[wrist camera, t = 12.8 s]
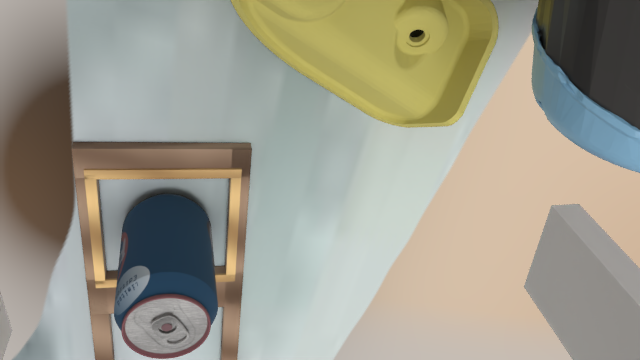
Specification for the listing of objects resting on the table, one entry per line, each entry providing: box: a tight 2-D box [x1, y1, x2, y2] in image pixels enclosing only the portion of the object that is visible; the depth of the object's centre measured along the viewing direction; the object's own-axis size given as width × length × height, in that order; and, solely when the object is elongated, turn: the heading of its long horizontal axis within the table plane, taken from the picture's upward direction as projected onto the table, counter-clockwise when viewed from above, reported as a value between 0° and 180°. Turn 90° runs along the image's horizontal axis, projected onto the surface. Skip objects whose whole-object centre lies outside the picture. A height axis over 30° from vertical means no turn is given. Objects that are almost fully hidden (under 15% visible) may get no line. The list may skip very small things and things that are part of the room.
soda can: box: [114, 194, 218, 359], centre depth 44 cm, size 7×7×12 cm
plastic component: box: [231, 0, 498, 127], centre depth 40 cm, size 20×7×10 cm
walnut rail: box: [72, 142, 252, 360], centre depth 52 cm, size 29×13×1 cm, turn 173°
